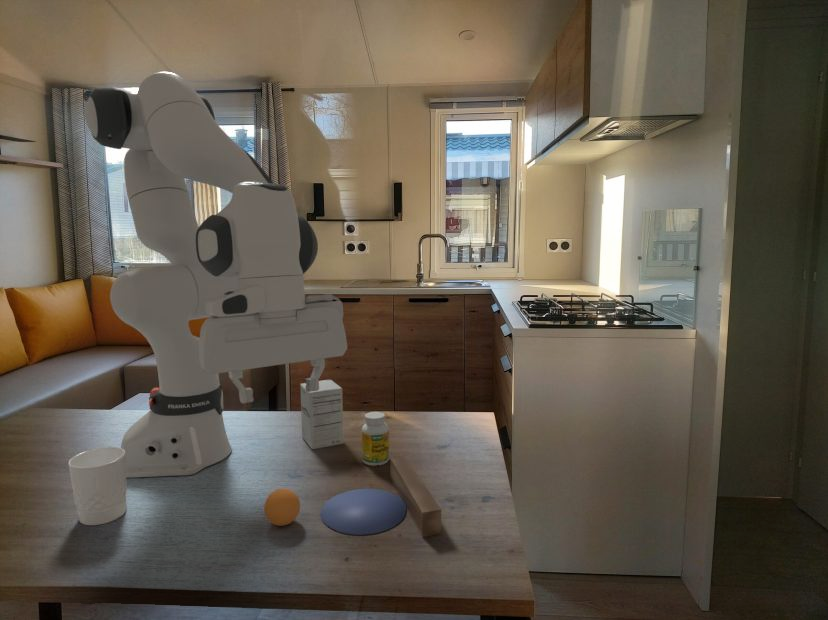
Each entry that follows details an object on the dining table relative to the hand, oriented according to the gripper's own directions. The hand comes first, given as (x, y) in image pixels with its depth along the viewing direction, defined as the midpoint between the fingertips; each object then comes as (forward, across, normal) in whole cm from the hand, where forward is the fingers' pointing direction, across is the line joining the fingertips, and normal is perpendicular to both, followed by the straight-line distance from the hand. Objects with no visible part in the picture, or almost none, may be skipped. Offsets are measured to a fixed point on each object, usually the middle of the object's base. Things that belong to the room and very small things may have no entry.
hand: (280, 396), depth 75 cm
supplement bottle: (+21, -24, -21) cm, 38 cm away
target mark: (+22, -14, -5) cm, 27 cm away
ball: (+19, -1, -8) cm, 21 cm away
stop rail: (+23, -22, -3) cm, 32 cm away
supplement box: (+19, -19, -36) cm, 45 cm away
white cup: (+20, +23, -26) cm, 40 cm away
